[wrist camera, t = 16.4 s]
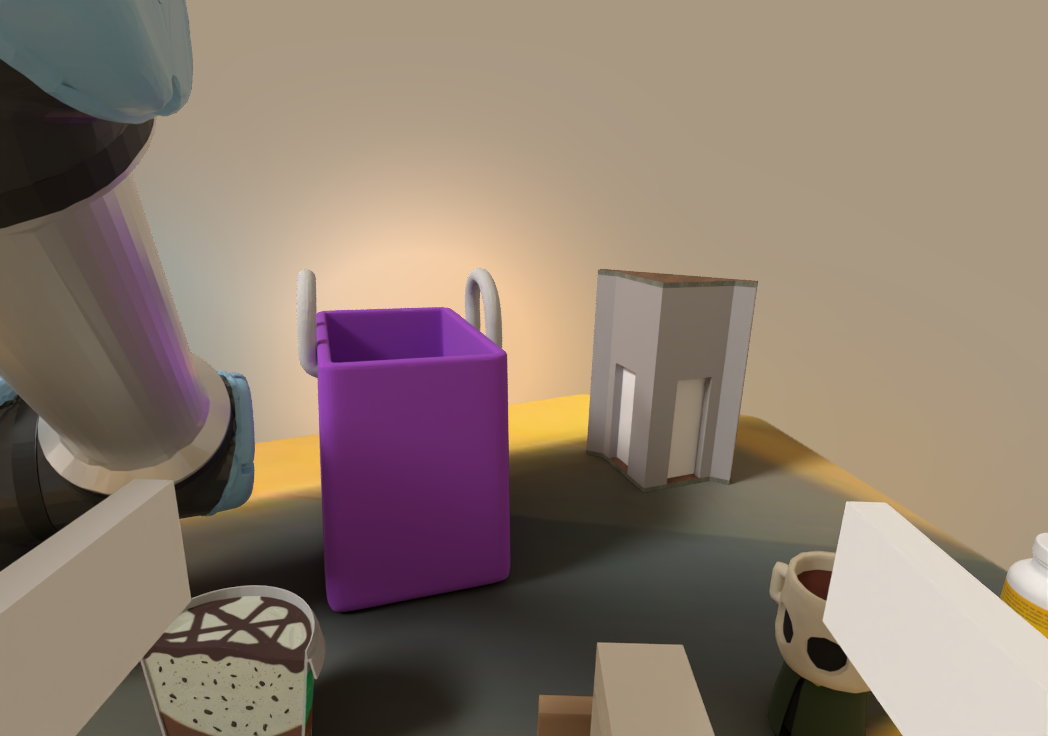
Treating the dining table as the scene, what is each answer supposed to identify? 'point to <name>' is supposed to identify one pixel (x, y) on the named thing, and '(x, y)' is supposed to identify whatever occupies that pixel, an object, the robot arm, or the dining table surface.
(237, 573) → the dining table surface
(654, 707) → the white rectangular box
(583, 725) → the wooden holder
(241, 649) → the food container
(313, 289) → the shopping bag
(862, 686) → the character mug
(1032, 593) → the supplement bottle
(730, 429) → the grey tall angular block
